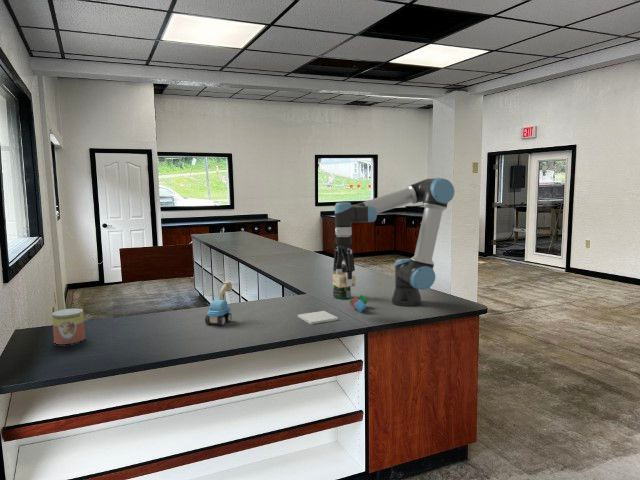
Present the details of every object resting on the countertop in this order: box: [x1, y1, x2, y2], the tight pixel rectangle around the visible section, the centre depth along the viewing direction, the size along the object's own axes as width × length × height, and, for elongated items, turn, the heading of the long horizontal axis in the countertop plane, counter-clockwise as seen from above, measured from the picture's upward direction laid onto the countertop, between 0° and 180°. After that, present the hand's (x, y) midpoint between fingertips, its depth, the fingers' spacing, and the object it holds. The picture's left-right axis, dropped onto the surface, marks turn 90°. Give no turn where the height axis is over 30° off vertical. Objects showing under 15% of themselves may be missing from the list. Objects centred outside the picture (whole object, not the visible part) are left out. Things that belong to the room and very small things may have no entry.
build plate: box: [297, 310, 339, 325], centre depth 221 cm, size 14×14×1 cm
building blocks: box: [349, 294, 368, 313], centre depth 235 cm, size 8×8×12 cm
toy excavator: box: [204, 281, 233, 326], centre depth 218 cm, size 9×17×17 cm, turn 161°
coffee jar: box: [332, 263, 352, 300], centre depth 260 cm, size 10×8×19 cm
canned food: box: [51, 307, 86, 345], centre depth 193 cm, size 11×11×12 cm
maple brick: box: [332, 273, 356, 288], centre depth 223 cm, size 8×8×5 cm
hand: (344, 284), depth 224 cm, fingers closed on maple brick, 8 cm apart
